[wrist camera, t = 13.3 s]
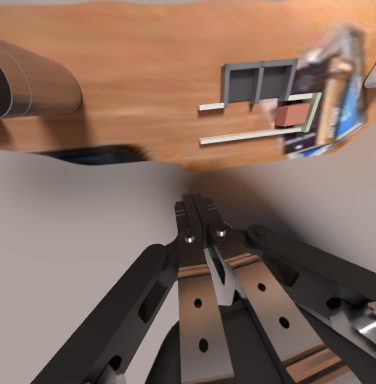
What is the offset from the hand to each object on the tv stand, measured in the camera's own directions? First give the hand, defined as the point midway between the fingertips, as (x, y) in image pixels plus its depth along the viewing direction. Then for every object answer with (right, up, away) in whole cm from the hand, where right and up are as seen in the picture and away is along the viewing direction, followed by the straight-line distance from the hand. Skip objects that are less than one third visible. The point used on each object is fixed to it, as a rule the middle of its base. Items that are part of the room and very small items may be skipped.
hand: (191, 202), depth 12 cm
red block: (+28, +23, +28) cm, 46 cm away
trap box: (+17, +24, +26) cm, 39 cm away
